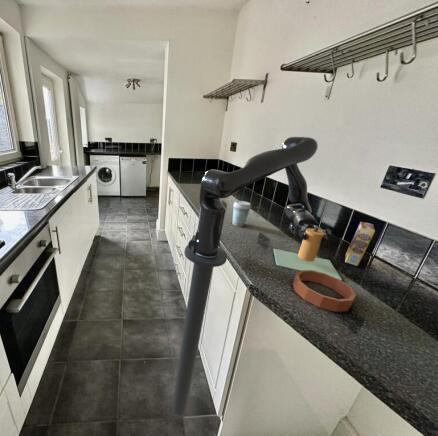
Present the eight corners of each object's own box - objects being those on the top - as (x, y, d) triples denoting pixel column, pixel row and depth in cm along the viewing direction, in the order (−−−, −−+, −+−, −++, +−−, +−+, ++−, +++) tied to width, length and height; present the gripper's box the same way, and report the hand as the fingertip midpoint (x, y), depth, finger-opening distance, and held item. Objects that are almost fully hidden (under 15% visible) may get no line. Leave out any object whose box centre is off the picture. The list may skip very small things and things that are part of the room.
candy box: (359, 267, 88) (375, 230, 82) (344, 262, 90) (360, 227, 85) (358, 258, 94) (374, 224, 89) (345, 254, 97) (359, 221, 91)
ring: (297, 301, 68) (301, 291, 66) (289, 275, 80) (293, 265, 79) (358, 318, 63) (364, 307, 61) (340, 287, 75) (344, 277, 74)
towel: (276, 265, 86) (277, 264, 85) (273, 249, 98) (273, 248, 98) (341, 280, 79) (342, 279, 79) (329, 261, 91) (329, 260, 91)
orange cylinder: (299, 259, 86) (309, 228, 81) (296, 252, 91) (306, 223, 86) (316, 262, 84) (327, 232, 80) (312, 256, 89) (323, 226, 84)
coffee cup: (226, 223, 122) (230, 202, 118) (234, 220, 127) (238, 199, 123) (241, 229, 116) (247, 206, 112) (249, 225, 122) (254, 203, 117)
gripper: (288, 211, 98) (295, 225, 83) (328, 217, 93) (343, 234, 78) (283, 227, 100) (289, 244, 86) (322, 234, 95) (335, 253, 81)
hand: (315, 239), depth 82 cm, fingers closed on orange cylinder, 5 cm apart
